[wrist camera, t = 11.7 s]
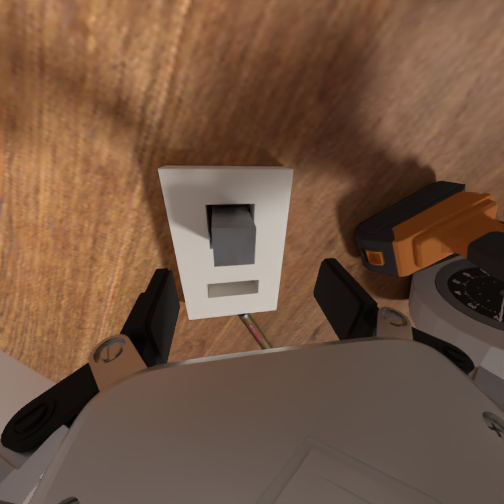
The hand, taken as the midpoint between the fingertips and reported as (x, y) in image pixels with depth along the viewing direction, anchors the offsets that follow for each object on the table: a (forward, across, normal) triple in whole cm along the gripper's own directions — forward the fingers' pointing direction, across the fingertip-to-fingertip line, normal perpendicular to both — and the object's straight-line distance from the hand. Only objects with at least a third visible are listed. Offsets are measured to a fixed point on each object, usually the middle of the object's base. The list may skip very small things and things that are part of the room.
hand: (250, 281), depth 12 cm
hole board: (+13, +1, +5) cm, 14 cm away
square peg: (+14, +1, +1) cm, 14 cm away
